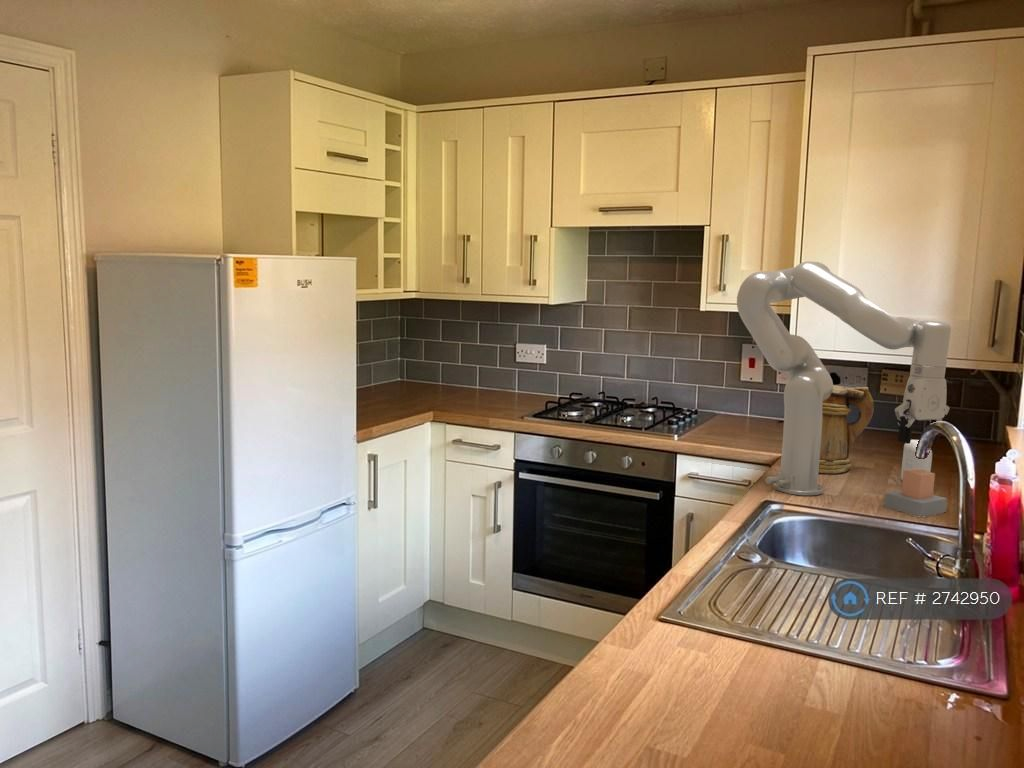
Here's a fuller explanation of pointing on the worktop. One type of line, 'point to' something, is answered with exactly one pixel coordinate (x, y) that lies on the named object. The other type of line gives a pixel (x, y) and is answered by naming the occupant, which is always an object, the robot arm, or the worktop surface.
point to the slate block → (915, 504)
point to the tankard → (842, 426)
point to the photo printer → (914, 459)
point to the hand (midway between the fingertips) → (918, 441)
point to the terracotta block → (918, 483)
